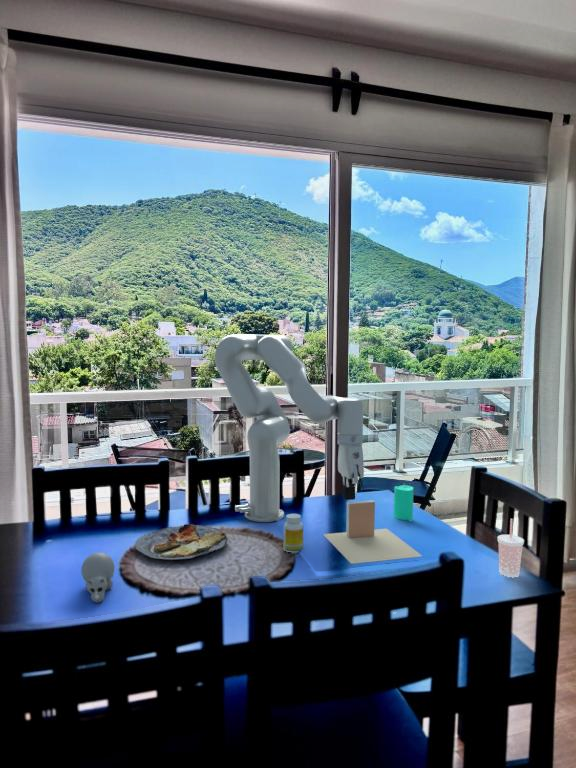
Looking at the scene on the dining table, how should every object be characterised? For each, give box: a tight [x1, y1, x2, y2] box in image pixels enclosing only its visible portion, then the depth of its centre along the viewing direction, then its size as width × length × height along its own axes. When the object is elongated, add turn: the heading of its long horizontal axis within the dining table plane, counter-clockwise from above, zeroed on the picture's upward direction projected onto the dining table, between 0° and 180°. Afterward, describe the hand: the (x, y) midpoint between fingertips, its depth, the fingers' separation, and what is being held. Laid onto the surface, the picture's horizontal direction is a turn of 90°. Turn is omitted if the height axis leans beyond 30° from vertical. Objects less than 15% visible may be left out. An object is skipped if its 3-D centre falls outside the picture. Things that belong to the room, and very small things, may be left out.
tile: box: [345, 499, 376, 538], centre depth 165 cm, size 8×2×10 cm, turn 105°
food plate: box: [134, 523, 229, 561], centre depth 159 cm, size 25×23×4 cm
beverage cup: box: [497, 518, 525, 579], centre depth 142 cm, size 6×6×14 cm
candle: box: [393, 484, 415, 523], centre depth 183 cm, size 6×6×12 cm
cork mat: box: [322, 528, 423, 565], centre depth 159 cm, size 20×22×1 cm
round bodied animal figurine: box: [80, 552, 115, 604], centre depth 130 cm, size 7×12×8 cm, turn 13°
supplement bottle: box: [282, 513, 304, 554], centre depth 157 cm, size 5×5×10 cm
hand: (349, 498), depth 174 cm, fingers closed
